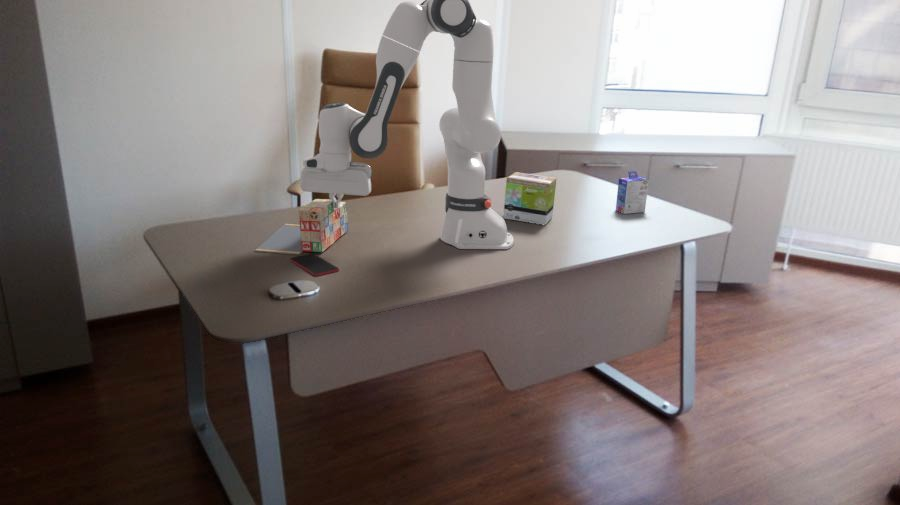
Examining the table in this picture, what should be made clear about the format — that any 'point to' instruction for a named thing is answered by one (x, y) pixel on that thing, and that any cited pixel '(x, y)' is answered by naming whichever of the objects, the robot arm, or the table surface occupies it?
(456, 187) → the robot arm
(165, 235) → the table surface
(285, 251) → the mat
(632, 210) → the ink cartridge box
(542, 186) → the tea box
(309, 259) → the smartphone
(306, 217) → the stack of blocks
